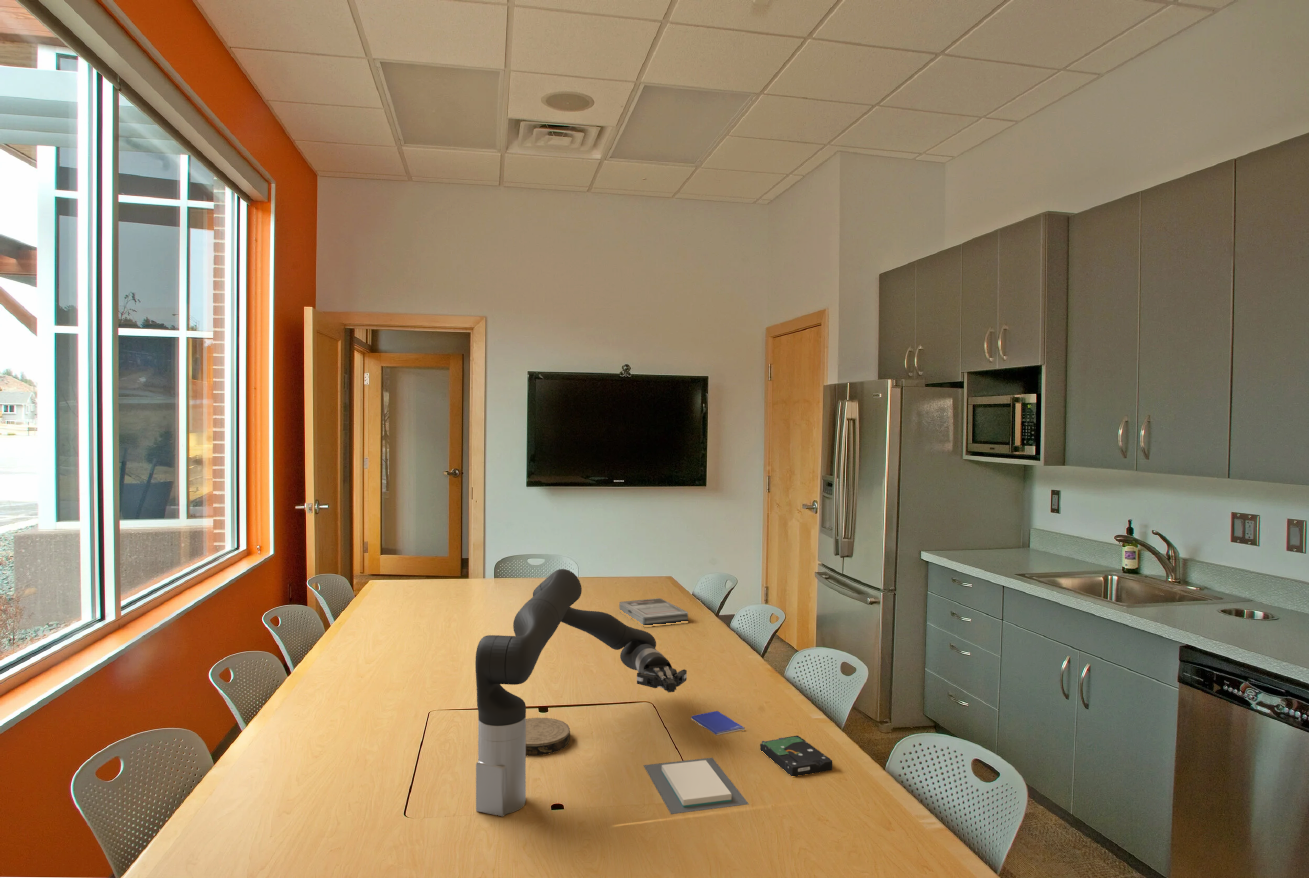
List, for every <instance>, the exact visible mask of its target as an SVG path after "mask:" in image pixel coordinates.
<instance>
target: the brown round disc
mask: <svg viewBox="0 0 1309 878" xmlns="http://www.w3.org/2000/svg"><path fill="white" fill-rule="evenodd" d="M570 740H571V728H570V726H569V724H568V723H567V722H565V721H563V720H560V719H557V718H552V717H531V718H529V717H528V718H526V756H527V755H528V757H529V756H533V757H538V756H544V755H543V754H546V755H550V754H554V753H557V752H559V751H561V750H563V749H565V748H566V747H567V746H568V745H569V743H570ZM553 752H554V753H553ZM549 753H550V754H549Z"/></svg>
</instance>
